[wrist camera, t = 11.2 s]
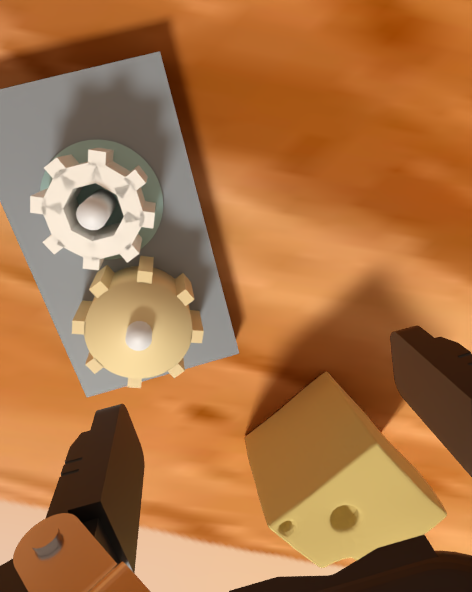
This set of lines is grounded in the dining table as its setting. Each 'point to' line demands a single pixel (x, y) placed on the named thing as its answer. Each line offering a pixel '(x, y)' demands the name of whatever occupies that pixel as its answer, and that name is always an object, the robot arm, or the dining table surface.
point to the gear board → (106, 211)
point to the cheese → (336, 478)
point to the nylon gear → (63, 206)
